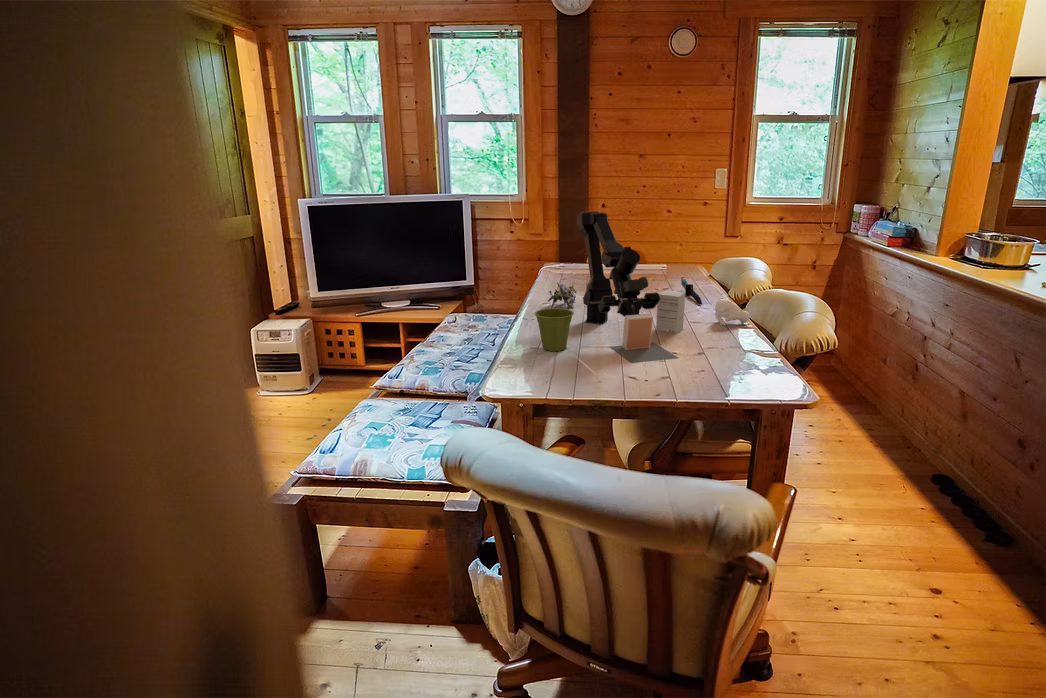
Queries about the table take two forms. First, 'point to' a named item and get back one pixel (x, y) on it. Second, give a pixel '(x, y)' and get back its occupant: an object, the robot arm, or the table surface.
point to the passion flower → (564, 295)
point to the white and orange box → (637, 331)
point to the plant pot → (554, 327)
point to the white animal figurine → (730, 312)
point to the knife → (690, 290)
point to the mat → (644, 353)
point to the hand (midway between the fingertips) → (636, 325)
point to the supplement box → (670, 311)
